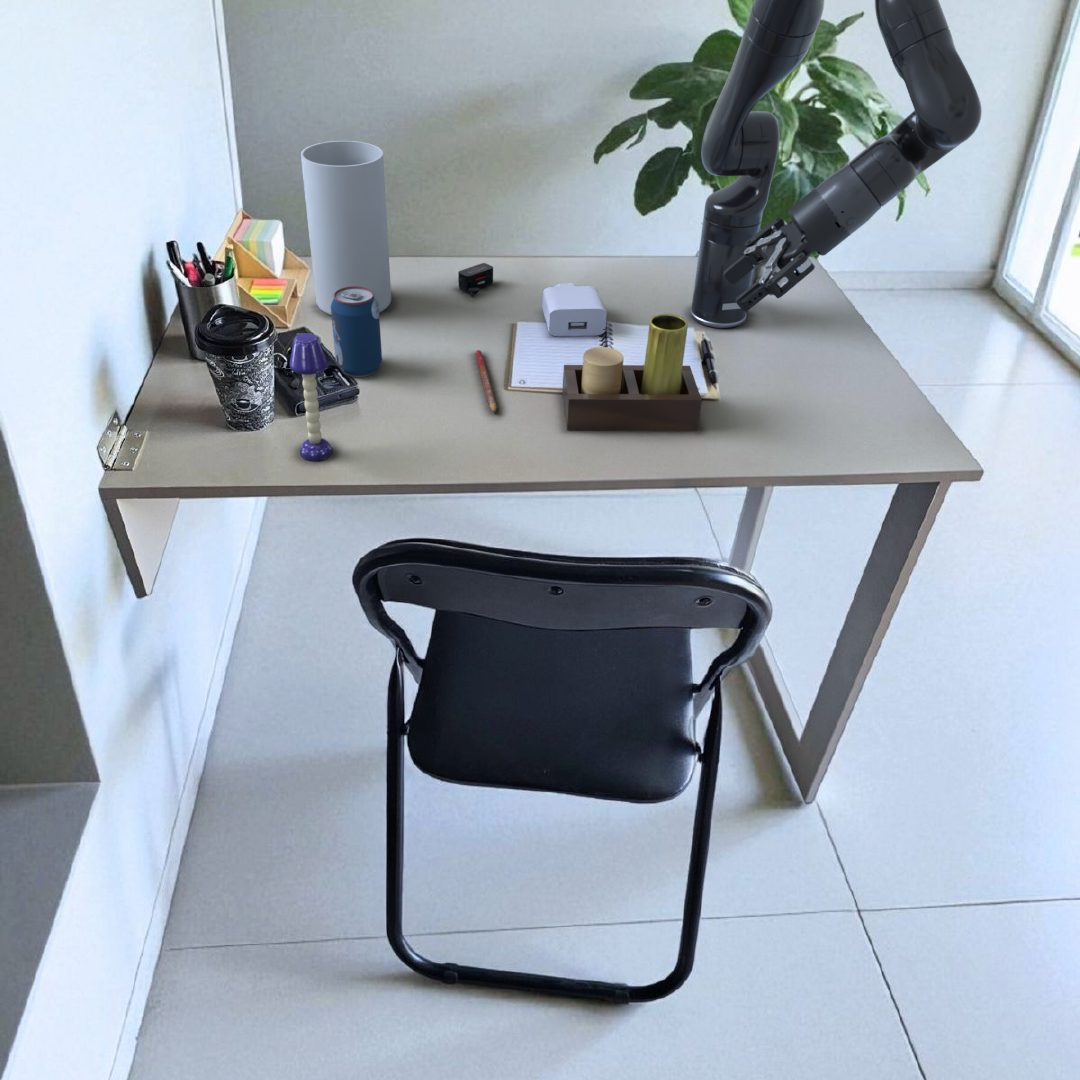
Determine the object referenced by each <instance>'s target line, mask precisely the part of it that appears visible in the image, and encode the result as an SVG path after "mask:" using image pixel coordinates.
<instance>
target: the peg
mask: <svg viewBox="0 0 1080 1080" xmlns="http://www.w3.org/2000/svg"><path fill="white" fill-rule="evenodd" d="M624 358H625V357H624V354H623V353H622V352H621V351H619V350H618V349H615V348H612V347H607V346H596V347H591V348H589V349H587V350H585V351H584V353H583V356H582V365H583V369H582V384H581V394H620V391H621V381H622V370H623V365H624Z"/></svg>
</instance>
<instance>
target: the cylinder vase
mask: <svg viewBox="0 0 1080 1080" xmlns="http://www.w3.org/2000/svg"><path fill="white" fill-rule="evenodd" d="M300 159H301V168H302V178H303V179H302V181H303V189H304V198H305V199H304V200H305V208H306V209H305V210H306V218H307V226H308V227H307V228H308V236H309V237H308V238H309V246H310V255H311V264H312V265H311V266H312V274H313V275H312V276H313V286H314V294H315V302H316V305H317V307H318V308H319V309H320V311H321V312H323V313H325V314H327V315H329V316H332V315H331V304H332V301H333V299H334V293H335V292H336V291H337V290H339V289H341V288H345V287H351V286H359V287H365V288H368V289H370V290H372V291H373V293H374V297H375V299H376V300H377V302H378V304H379V314H380V313H382V312H384V311H385V310H386V309H387V308H388V307H389V306H390V305H391V302H392V285H391V284H392V283H391V267H390V253H389V250H390V249H389V234H388V218H387V217H388V213H387V198H386V181H385V179H386V178H385V165H384V164H385V163H384V150H383V149H382V148H381V147H379V146H377V145H375V144H371V143H368V142H364V141H358V140H357V141H355V140H332V141H331V140H330V141H324V142H323V141H322V142H318V143H315V144H311V145H309V146H307V147H305V148H303V149H302V150H301V152H300Z"/></svg>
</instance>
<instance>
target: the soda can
mask: <svg viewBox="0 0 1080 1080" xmlns="http://www.w3.org/2000/svg"><path fill="white" fill-rule="evenodd" d="M330 316H331V326H332V335H333V336H332V337H333V347H334V359H335V364H336V363H337V364H336V366H337V365H338V366H339V367H340V368H342V369H343V370H344V371H343V370H341V369H340V368H339V367H338V366H337V367H338V369H339V370H340V371H341V372H342V373H343V374H344V375H346V376H348V377H351V378H365V377H368V376H373V374H375V373H376V372H377V371H378V370H379V368H380V366H382V362H383V351H382V337H381V336H382V335H381V322H380V320H381V319H380V313H379V304H378V302H377V300H376V299H375V297H374V293H373V291H372V290H370V289H368V288H365V287H359V286H351V287H345V288H341V289H339V290H337V291H336V292H335V293H334V299H333V301H332V304H331V315H330Z"/></svg>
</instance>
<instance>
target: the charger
mask: <svg viewBox="0 0 1080 1080" xmlns="http://www.w3.org/2000/svg"><path fill="white" fill-rule="evenodd" d="M541 309H542V312H543V316H544V320H545V323H546V326H547V330H548V333H549V335H551V336H553V337H589V336H590V337H595V336H601V335H603V334H604V333H605V332H606V326H607V315H608V314H607V310H606V308H605V305H604V302H603V300H602V298H601V295H600V292H599V290H598V289H597V288H596V287H595V286H592V285H578V284H577V283H574V282H573V283H572V282H568V283H561V282H559V283H558V284H556V285H554V286H549V287H546V288H544V289H543V291H542V307H541ZM603 329H605V330H603Z"/></svg>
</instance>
